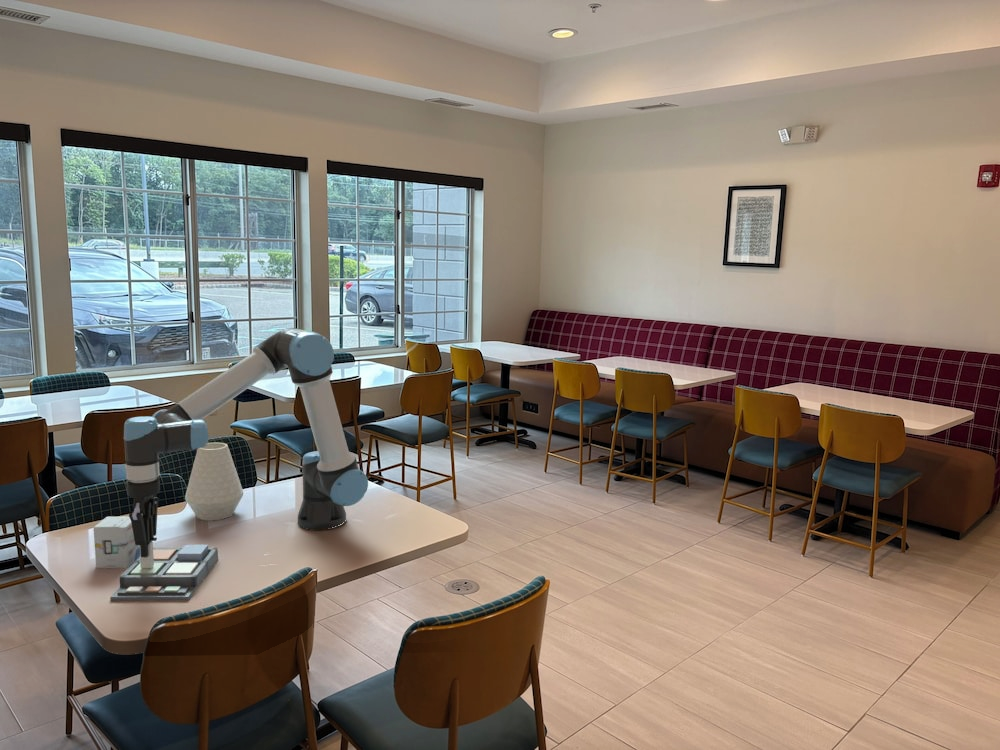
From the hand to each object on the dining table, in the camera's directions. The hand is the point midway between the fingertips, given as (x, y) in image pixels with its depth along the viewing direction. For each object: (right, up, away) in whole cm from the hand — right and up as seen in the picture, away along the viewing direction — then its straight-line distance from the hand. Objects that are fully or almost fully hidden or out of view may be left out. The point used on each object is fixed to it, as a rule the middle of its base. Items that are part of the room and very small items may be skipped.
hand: (147, 566), depth 186 cm
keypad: (+4, -4, +3) cm, 6 cm away
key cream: (+8, -3, +1) cm, 9 cm away
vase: (-2, +4, +49) cm, 49 cm away
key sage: (0, -3, 0) cm, 3 cm away
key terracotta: (-1, -1, +9) cm, 9 cm away
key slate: (+8, 0, +9) cm, 12 cm away
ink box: (-14, -2, +12) cm, 18 cm away
